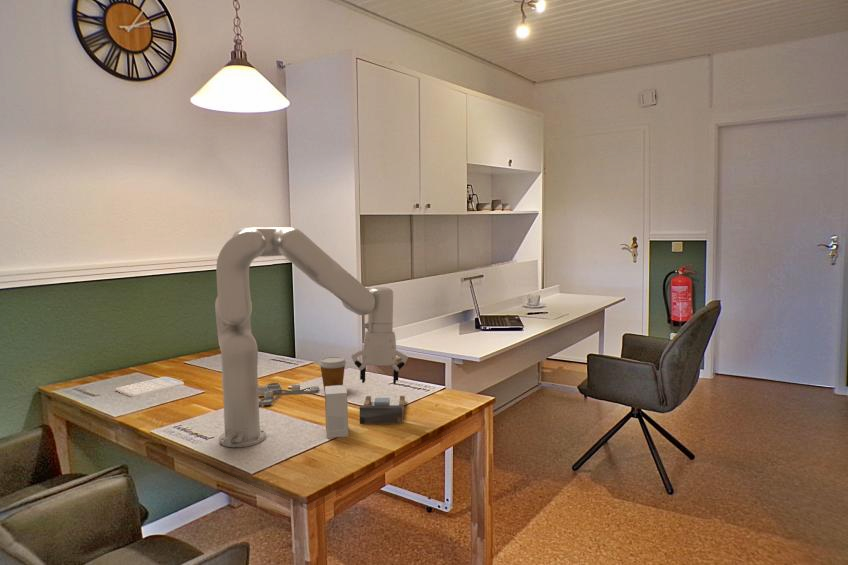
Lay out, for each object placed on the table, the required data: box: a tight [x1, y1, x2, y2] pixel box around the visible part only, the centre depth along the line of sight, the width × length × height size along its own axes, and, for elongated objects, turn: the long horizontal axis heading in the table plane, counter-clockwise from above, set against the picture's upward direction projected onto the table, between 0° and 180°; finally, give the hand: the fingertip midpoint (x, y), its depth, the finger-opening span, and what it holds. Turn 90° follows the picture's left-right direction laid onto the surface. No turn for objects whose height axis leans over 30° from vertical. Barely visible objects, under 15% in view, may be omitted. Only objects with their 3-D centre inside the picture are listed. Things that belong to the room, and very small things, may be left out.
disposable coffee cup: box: [318, 356, 347, 393], centre depth 209 cm, size 10×10×12 cm
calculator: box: [115, 376, 185, 397], centre depth 216 cm, size 13×20×2 cm, turn 142°
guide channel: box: [359, 395, 406, 425], centre depth 188 cm, size 21×13×5 cm, turn 0°
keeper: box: [373, 397, 390, 405], centre depth 182 cm, size 4×4×6 cm
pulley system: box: [258, 382, 320, 406], centre depth 206 cm, size 27×5×15 cm
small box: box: [324, 384, 349, 439], centre depth 170 cm, size 8×6×13 cm
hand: (379, 382), depth 181 cm, fingers open, 9 cm apart
